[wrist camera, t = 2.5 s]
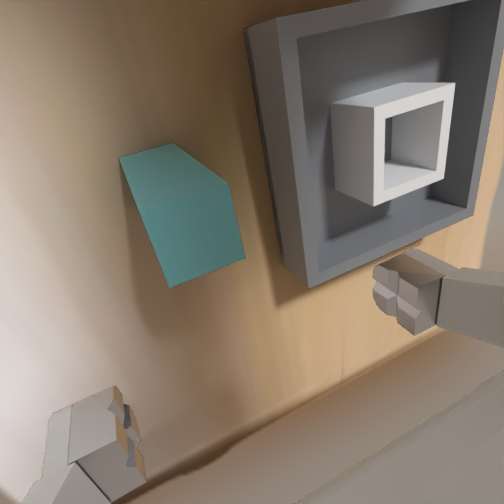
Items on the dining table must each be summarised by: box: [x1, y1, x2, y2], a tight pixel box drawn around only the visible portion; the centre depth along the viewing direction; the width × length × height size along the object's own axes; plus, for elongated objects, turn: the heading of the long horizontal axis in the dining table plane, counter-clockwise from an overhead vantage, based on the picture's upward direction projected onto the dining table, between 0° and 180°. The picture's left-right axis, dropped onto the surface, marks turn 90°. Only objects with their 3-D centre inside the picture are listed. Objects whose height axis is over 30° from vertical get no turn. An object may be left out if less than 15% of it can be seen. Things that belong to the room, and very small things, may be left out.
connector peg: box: [119, 143, 246, 288], centre depth 20 cm, size 4×4×12 cm
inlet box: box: [243, 0, 504, 289], centre depth 29 cm, size 20×20×6 cm
